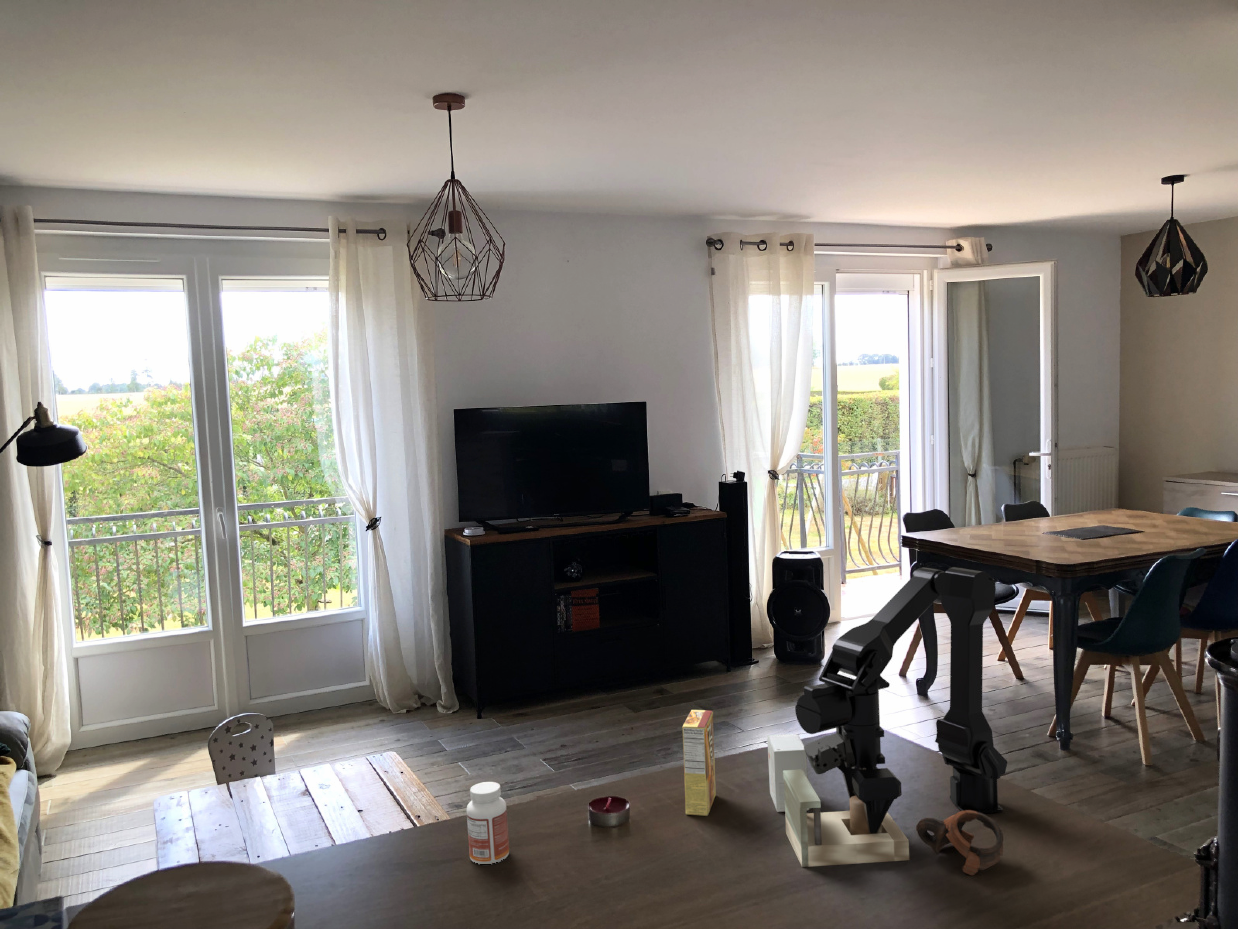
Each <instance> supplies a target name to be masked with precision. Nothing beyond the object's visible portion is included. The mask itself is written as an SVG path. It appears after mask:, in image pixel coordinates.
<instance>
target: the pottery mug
mask: <svg viewBox="0 0 1238 929" xmlns="http://www.w3.org/2000/svg"><path fill="white" fill-rule="evenodd" d="M974 820H977V821H979V822H981V823H982V825H983V826H984V827H986V828H987V829H989V830H991V831H992V832H993V833H994V835H995V837H996V841H995V844H994V845H992V846H991V847H985V848H983V847H978V848H977V853H975V852H973V851H971V850H970V849H971V846H972V841H973V840H974V838H975V835H973V833H970V832H967V831H965V830H964V829H963V828H964V826H965V825H966V823H969V822H972V821H974ZM915 829H916V832H917V836H918V838H919V839H920V840H921V841H922V842H923V843H924V844H925V845H927V846H929V847H930V848H931V849H932V851H933V853H934V854H935V855H939V852H941V850H942V848H943V847H944V846H947V845H950V844H951V845H952V846H953V847H954V848H955V849H956V850H957V851H958V853H959V854H960V855H962V856H963V857H964V858H966V859H965V864H964V865H963V866H962V872H963V873H965V874H967V875H969V876H974V875H976V874H977V873H978V871H984V870H986V869H988V868H990V867H992V866H994V865H996V864H997V863H998V862H1000V861H1001V856H1003V854H1004V836H1003V832H1002V829H1001V828H1000V826H999V825H998V824H997V822H995V821H994V819H993V818H991V817H990V816H988V815H986V813H980V812H976V811H972V810H965V811H961V810H960V811H958V812H956V813H955V814H953V815H950V816H948V817H947V818H945V819H944V820H940V819H937V818H934V817H925V818H922V819H920V820H919V821H918V822H917V824H916V826H915ZM928 831H929V832H931V833H932V834H931V833H929V832H928Z"/></svg>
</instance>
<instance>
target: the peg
mask: <svg viewBox="0 0 1238 929" xmlns="http://www.w3.org/2000/svg"><path fill="white" fill-rule="evenodd" d="M848 799H849V798H848ZM848 801H849V811H850V831H851V835H864V834H871V833H870V832H869V829H868V824H867V820H866V814H865V809H864V804H863V802H862V801H861V800H859V799H858V798H857V796H853V797H851V798H850V799H849V800H848ZM874 834H877V833H874Z"/></svg>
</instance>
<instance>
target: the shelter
mask: <svg viewBox="0 0 1238 929" xmlns="http://www.w3.org/2000/svg"><path fill="white" fill-rule="evenodd" d="M783 777H784V794H785V811H784V812H785V814H784V816H785V833H786V836H787V838H788V840H789V842H790V845H791V846H792V849H793V850H794V853H795V855H796V857H797V859H798V861H799V863H800V866H801V867H802V868H805V867H806V868H808V867H823V866H837V865H852V864H853V865H855V864H869V863H870V864H871V863H882V862H883V863H885V862H899V861H910V844H909V843H910V842H909V841H910V840H909V839H908V838H907V836H906V835H905V834H904V832H903V831H902V830H901V828H900V827H899V825H898V824H897V823H896V822H895V820H894V819H893V818H892V816H891V815H890V813H888V812H887V814H886V816H885V818H884V820H883V822H882V824H881V826H880V828H879V830H878V832H877V834H864V835H851V831H850V810H842V811H841V810H839V811H825V812H824V811H823V812H821V808H822V807H821V806H822V805H821V804H822V803H821V799H820V797H819V796H818V794H817V793H816V791H815V789H814V788H813V786H812V784H811V782H810V781H809V778H808V779H807V778H806V776H805V774H804V773H803V771H802V769H801V770H785V771H783ZM807 808H809V809H812V810H813V812H812V813H811V812H810V813H809V812H807V811H808V810H807Z"/></svg>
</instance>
